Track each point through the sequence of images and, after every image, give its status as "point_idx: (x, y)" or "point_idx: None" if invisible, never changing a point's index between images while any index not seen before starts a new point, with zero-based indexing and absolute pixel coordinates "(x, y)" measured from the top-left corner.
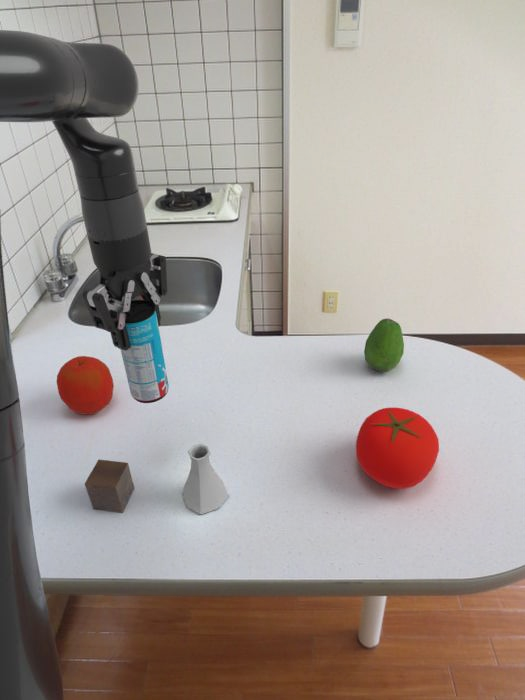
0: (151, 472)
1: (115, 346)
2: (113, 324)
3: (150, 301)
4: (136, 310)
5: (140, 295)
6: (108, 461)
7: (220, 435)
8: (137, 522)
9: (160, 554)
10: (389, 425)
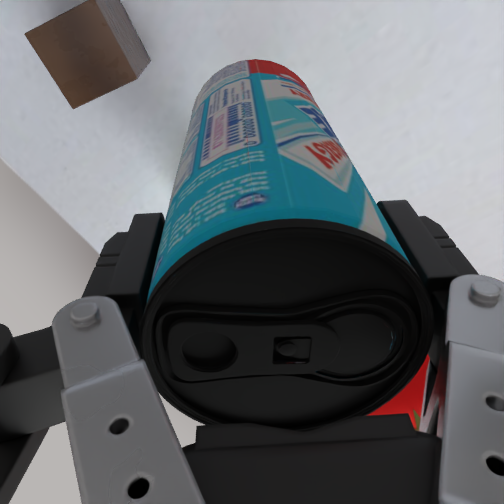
0: (203, 60)
1: (118, 235)
2: (39, 437)
3: (434, 354)
4: (298, 356)
5: (441, 345)
6: (107, 29)
7: (362, 120)
8: (102, 127)
9: (90, 200)
10: (418, 424)
